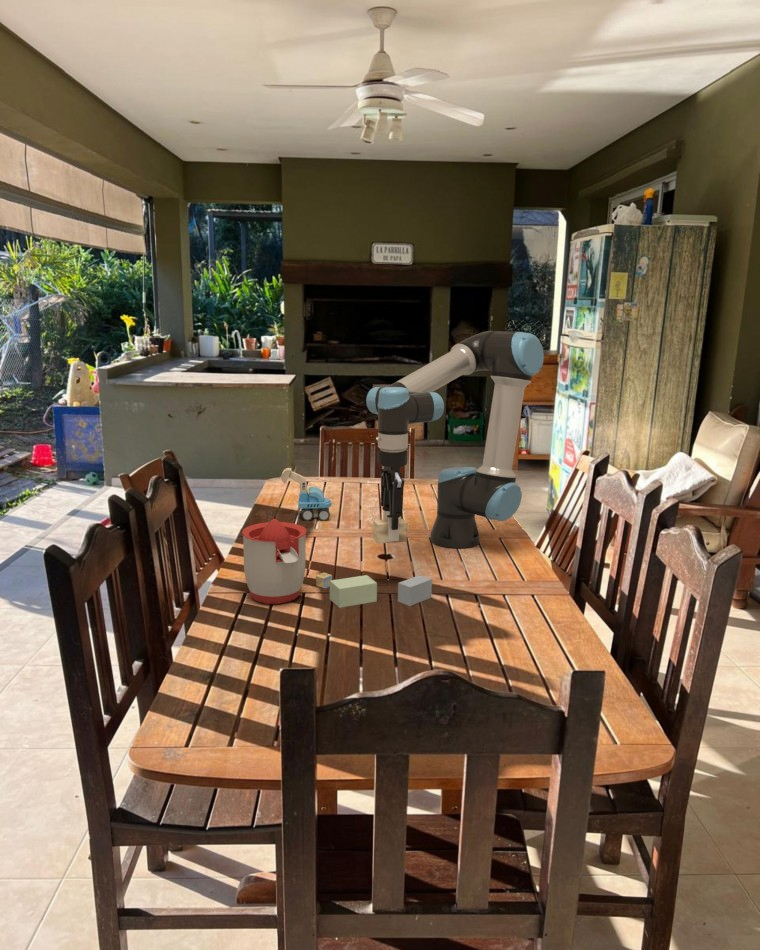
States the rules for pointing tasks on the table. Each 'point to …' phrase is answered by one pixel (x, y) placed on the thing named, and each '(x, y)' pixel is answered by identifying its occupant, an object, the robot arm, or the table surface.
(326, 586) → the alphabet block
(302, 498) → the toy excavator
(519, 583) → the table surface
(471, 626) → the table surface
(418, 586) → the slate brick
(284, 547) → the citrus juicer
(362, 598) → the sage brick
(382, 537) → the maple brick
